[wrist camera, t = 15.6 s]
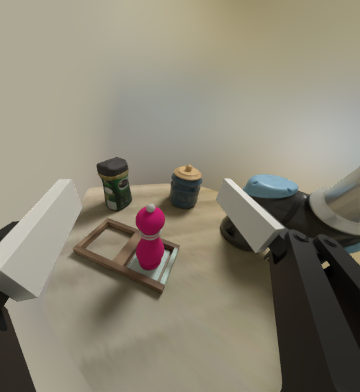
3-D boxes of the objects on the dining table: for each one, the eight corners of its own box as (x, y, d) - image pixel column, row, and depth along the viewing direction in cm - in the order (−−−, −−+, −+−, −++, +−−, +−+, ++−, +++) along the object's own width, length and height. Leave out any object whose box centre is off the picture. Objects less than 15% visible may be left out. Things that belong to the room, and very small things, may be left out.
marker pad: (144, 241, 41) (144, 241, 41) (170, 251, 40) (170, 251, 39) (127, 268, 34) (127, 267, 34) (157, 281, 33) (157, 280, 33)
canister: (177, 189, 69) (182, 156, 58) (200, 198, 65) (209, 165, 54) (163, 201, 59) (166, 164, 49) (189, 213, 55) (198, 175, 45)
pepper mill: (132, 256, 37) (124, 201, 25) (154, 243, 41) (155, 190, 29) (145, 278, 33) (143, 224, 21) (168, 261, 37) (176, 208, 25)
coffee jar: (120, 194, 59) (114, 153, 48) (135, 200, 57) (131, 159, 46) (102, 206, 51) (89, 161, 40) (118, 213, 49) (109, 168, 38)
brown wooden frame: (108, 222, 45) (107, 218, 44) (178, 249, 41) (179, 245, 40) (74, 252, 36) (72, 248, 34) (161, 293, 31) (162, 290, 30)
